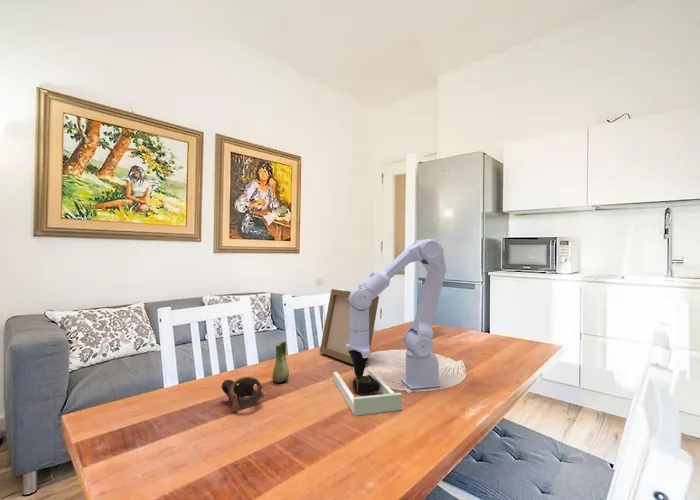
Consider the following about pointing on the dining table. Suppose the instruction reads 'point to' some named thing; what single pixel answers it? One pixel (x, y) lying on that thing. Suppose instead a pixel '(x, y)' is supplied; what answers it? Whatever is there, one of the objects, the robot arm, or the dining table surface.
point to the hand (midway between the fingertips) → (359, 375)
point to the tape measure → (365, 384)
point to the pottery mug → (242, 392)
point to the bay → (370, 397)
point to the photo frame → (342, 325)
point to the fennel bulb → (280, 364)
